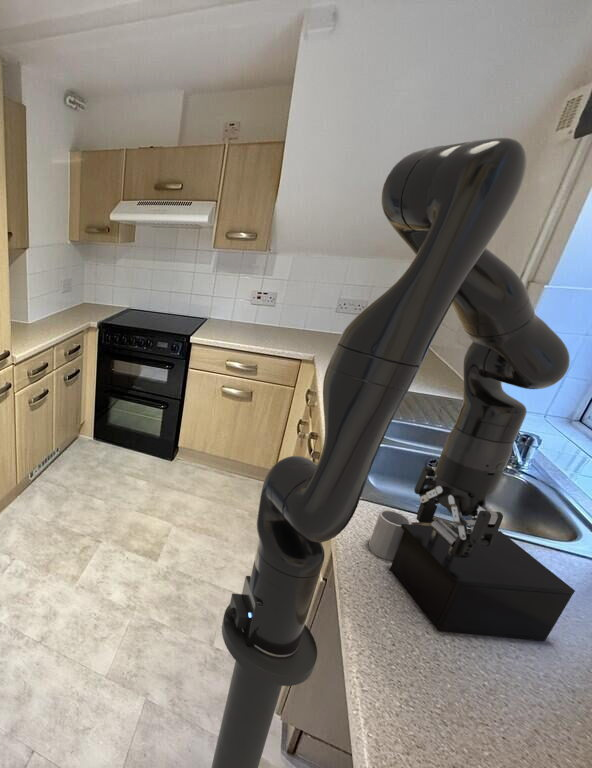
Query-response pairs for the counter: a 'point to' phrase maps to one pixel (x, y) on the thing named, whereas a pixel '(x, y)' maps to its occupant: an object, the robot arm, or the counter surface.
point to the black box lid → (485, 561)
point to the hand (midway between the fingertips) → (439, 537)
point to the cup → (387, 534)
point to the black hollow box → (474, 600)
